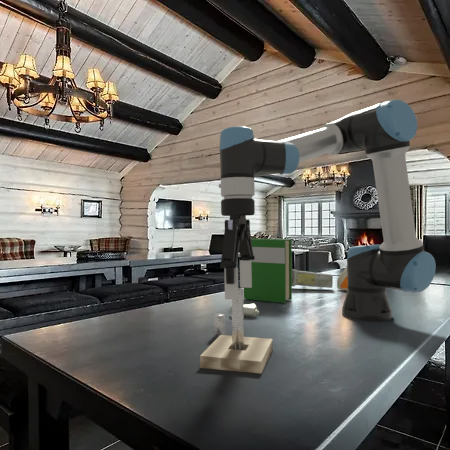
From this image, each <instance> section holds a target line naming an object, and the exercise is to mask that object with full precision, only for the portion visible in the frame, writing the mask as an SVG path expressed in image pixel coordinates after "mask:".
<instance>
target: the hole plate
mask: <svg viewBox="0 0 450 450" xmlns="http://www.w3.org/2000/svg"><path fill="white" fill-rule="evenodd" d="M273 340H274V339H273V338H265V337H262V338H261V337H254V336H253V337H252V336H244V350H233V349H232V335H227V334H225V335H220V336H219V337H218V338H215V340H214V341H213V342H212V343H211V344H210V345H209V346H208V347H207V348H206V349H205V350H204V351H203V352H202V353H201V354H200V355H199V356H200V357H199V367H200V368H201V369H210V370H220V371H221V370H222V371H230V372H243V373H251V374H252V373H255V374H262V373H263V371H264V369H265V367H266V365H267V363H268V360H269V359H270V356H271V354H272V352H273V351H274V350H273V347H274V345H273V344H274V343H273V342H274V341H273Z"/></svg>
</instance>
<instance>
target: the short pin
mask: <svg viewBox="0 0 450 450" xmlns="http://www.w3.org/2000/svg"><path fill="white" fill-rule="evenodd" d="M220 335H226V314H224V313H214V314H213V337H214V338H215V339H217V338H218V337H219V336H220Z"/></svg>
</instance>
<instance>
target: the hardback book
mask: <svg viewBox="0 0 450 450" xmlns="http://www.w3.org/2000/svg"><path fill="white" fill-rule="evenodd" d="M251 241H252V249H253V256H255V259H254V260H251V269H252V288H243V300H253V301H262V302H263V301H264V302H270V303H271V302H273V303H278V304H279V303H281V304H286V303H287V300H289V301H291V300H292V301H293V292H292V291H293V286H292V269H293V267H292V266H293V265H292V261H293V259H292V258H293V256H292V253H293V251H292V247H293V246H292V238H252V237H251Z"/></svg>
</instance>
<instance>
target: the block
mask: <svg viewBox="0 0 450 450" xmlns="http://www.w3.org/2000/svg"><path fill="white" fill-rule="evenodd" d="M333 277H334V276H333V274H327V273H321V272H320V273H318V272H312V271H305V270H304V271H303V270H297V269H294V268H292V288H293V287H296V286H302V287H303V286H304V287H311V288H326V289H327V288H328V289H329V288H330V289H332V288H333V283H334V281H333V280H334V278H333Z"/></svg>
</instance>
